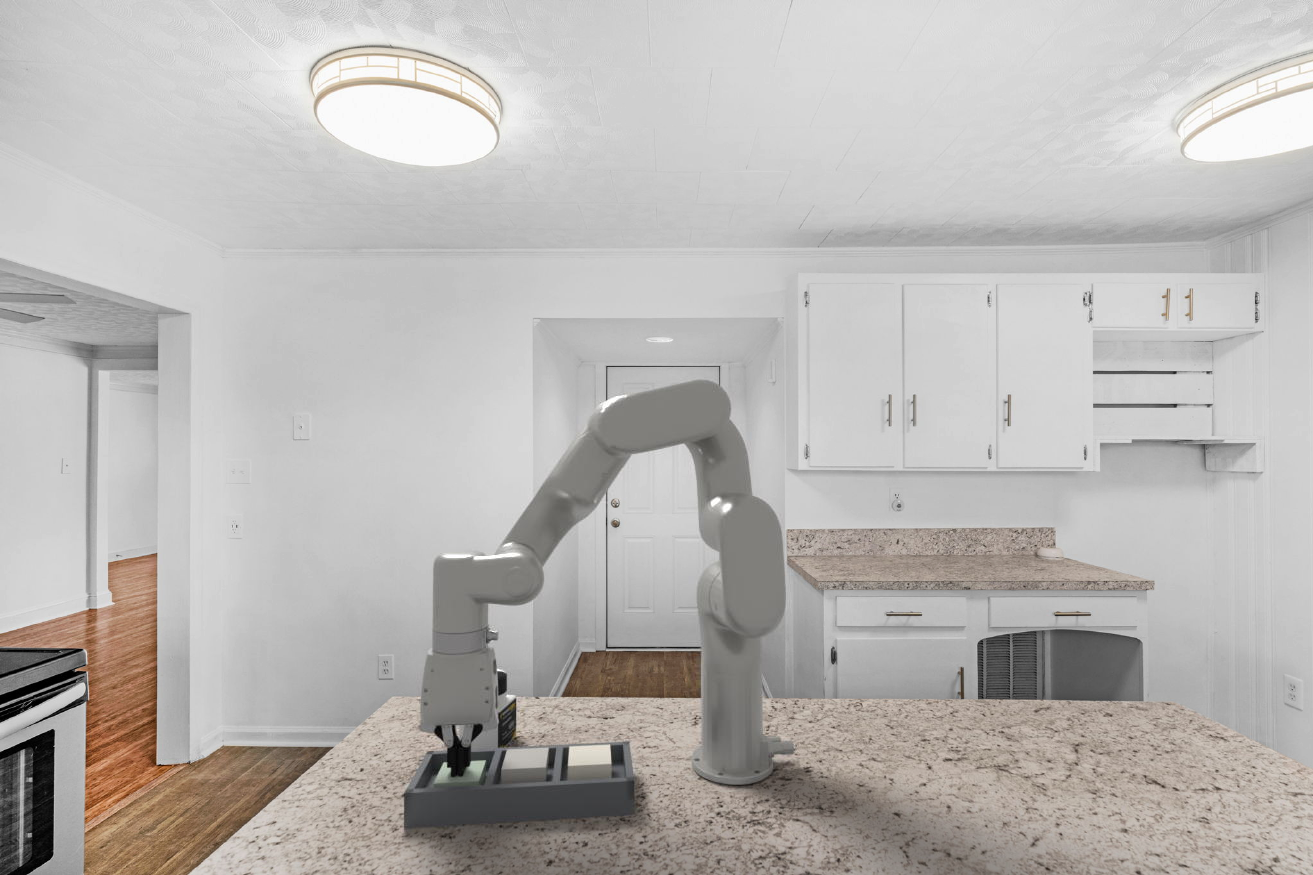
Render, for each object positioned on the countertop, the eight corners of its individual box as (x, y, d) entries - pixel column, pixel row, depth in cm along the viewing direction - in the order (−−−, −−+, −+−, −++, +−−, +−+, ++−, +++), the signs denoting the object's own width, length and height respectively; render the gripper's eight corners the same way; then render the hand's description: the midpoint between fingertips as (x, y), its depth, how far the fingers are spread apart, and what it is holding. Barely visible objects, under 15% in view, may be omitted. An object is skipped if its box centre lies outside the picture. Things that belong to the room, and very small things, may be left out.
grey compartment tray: (629, 771, 99) (629, 741, 99) (634, 814, 87) (634, 780, 87) (427, 781, 96) (427, 751, 96) (403, 828, 84) (404, 793, 84)
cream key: (610, 758, 95) (610, 744, 95) (611, 778, 89) (611, 763, 89) (569, 760, 95) (569, 746, 95) (567, 780, 89) (567, 765, 89)
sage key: (486, 774, 94) (486, 760, 94) (478, 795, 88) (478, 781, 88) (443, 776, 93) (443, 762, 93) (433, 798, 87) (433, 783, 87)
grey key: (548, 761, 94) (548, 747, 95) (545, 781, 88) (545, 767, 89) (507, 763, 94) (507, 749, 94) (501, 784, 88) (501, 769, 88)
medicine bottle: (498, 755, 104) (499, 680, 104) (458, 751, 105) (458, 677, 106) (517, 736, 111) (517, 666, 111) (478, 733, 112) (479, 663, 113)
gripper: (517, 631, 95) (516, 757, 95) (413, 633, 94) (411, 761, 93) (511, 646, 88) (509, 783, 87) (397, 649, 86) (395, 788, 86)
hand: (458, 771), depth 90 cm, fingers closed
